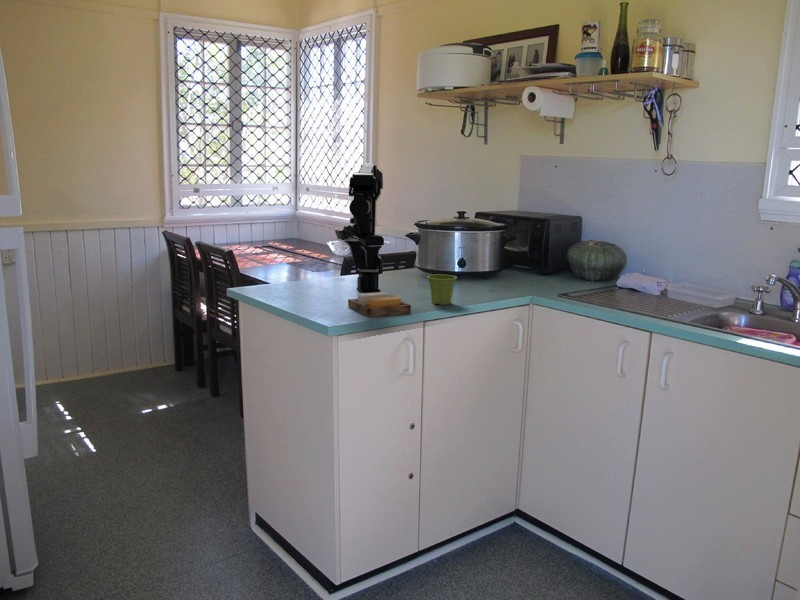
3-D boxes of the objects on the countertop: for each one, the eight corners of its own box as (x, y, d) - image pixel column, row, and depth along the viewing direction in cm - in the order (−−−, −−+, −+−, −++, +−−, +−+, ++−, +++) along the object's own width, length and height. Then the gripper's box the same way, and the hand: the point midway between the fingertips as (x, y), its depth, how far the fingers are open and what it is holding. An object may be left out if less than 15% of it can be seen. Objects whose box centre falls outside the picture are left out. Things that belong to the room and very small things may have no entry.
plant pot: (421, 301, 217) (422, 274, 215) (447, 299, 220) (448, 273, 219) (434, 307, 208) (435, 279, 207) (460, 305, 212) (462, 278, 210)
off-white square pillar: (362, 307, 202) (362, 296, 201) (357, 305, 205) (357, 293, 204) (388, 305, 206) (389, 294, 206) (383, 302, 209) (384, 291, 209)
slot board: (388, 303, 212) (388, 295, 212) (410, 312, 200) (410, 305, 199) (348, 306, 206) (348, 299, 205) (368, 317, 193) (368, 308, 193)
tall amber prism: (373, 312, 196) (373, 301, 195) (368, 310, 199) (368, 298, 198) (400, 310, 200) (400, 298, 199) (395, 307, 203) (395, 296, 202)
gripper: (326, 212, 207) (326, 262, 210) (350, 218, 191) (350, 271, 194) (358, 212, 212) (358, 260, 216) (385, 217, 196) (384, 269, 200)
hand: (361, 265), depth 206 cm, fingers open, 9 cm apart
